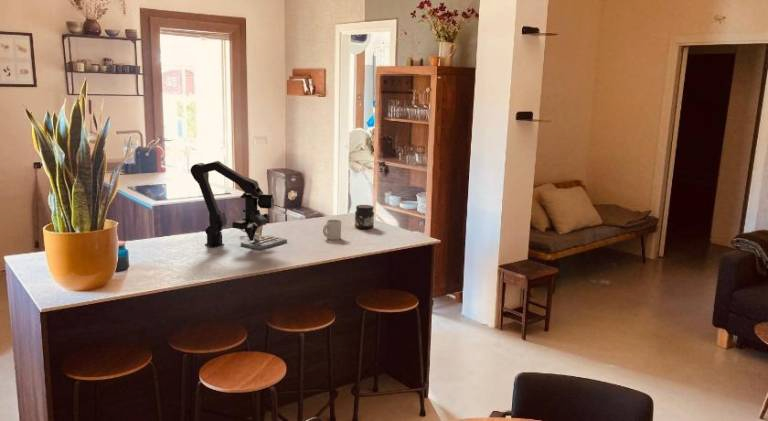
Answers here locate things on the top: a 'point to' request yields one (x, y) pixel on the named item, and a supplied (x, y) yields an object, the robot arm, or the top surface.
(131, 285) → the top surface
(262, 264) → the top surface
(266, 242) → the console board
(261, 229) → the mug
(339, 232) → the cup
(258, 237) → the fader tab
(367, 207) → the supplement container
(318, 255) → the top surface
